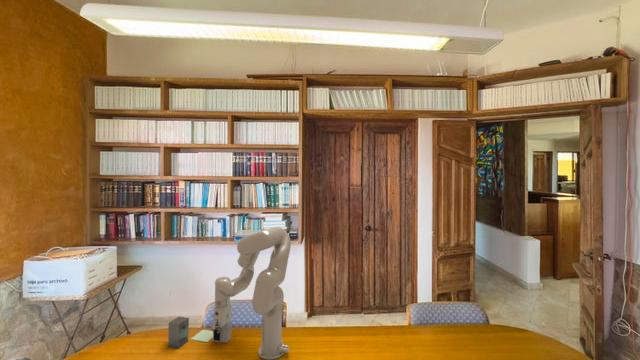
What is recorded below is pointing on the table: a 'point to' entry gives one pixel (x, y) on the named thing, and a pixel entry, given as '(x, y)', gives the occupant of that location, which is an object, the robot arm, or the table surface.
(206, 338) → the pad
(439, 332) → the table surface
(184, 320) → the block
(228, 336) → the medicine box
